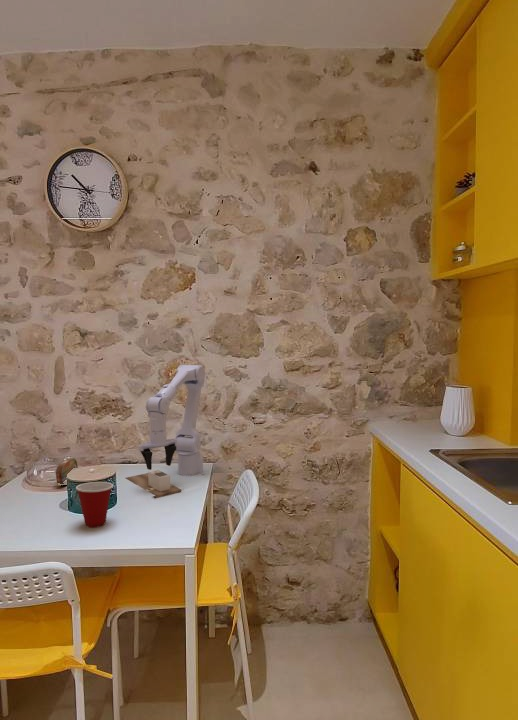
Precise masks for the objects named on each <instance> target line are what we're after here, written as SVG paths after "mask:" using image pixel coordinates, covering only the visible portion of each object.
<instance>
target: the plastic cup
mask: <svg viewBox="0 0 518 720" xmlns="http://www.w3.org/2000/svg"><path fill="white" fill-rule="evenodd" d="M112 488H114V484H113V483H111V482H106V481H91V482H85V483H81V484H79V485H76V486H75V490H76V491H77V494H78V499H79V502H80V506H81V507H80V508H81V512H82V513H81V514H82V516H83V520H84V524H85V526H86V527H87V526H88V528H98V527H97V526H99V527H102V526H104V525H105V524H106V521H107V515H108V510H109V509H108V508H109V504H110V503H109V502H110V496H111V492H112ZM104 523H105V524H104ZM103 524H104V525H103ZM101 525H102V526H101Z"/></svg>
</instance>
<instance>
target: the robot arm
mask: <svg viewBox="0 0 518 720" xmlns="http://www.w3.org/2000/svg"><path fill="white" fill-rule="evenodd" d="M175 372H176V373H175V376H174V377H173V379H172V380H171V381H170V382H169V383H167V384H164V385H163V386H162V387H161V388H160V389H159V391H158V392H156V394H155V395H154V396H151V397H149V398H148V399H147V401H146V403H145V410H146V412H147V417H148V418H149V441H148V442H145V443H141V444H138V451H139V452H140V454H141V455H142V457H143V459H144V461H145V466H146V469H147V470H149V471H150V470H151V471H152V465H153V464H152V457H153V451H151V450H152V449H157V448H164V452H165V465H166V466H169V467H170V466H171V465H172V461H173V456H174V454H175V453H176V454H177V460H178V461H177V467H178V469H177V471H178V472H177V473H178V475H179V476H182V477H183V476H184V477H187V476H188V477H189V476H194V475H197V474H199V475H201V476H202V475H203V476H204V475H205V473H204V457H203V454H202V452H201V451H200V450H201V447H202V442H201V437H202V436H201V434H200V433H199V431H198V430H196V426H197V419H198V414H199V406H200V401H201V400H200V399H201V393H202V388H203V387H204V385H205V378H206V371H205V367H204V366H203V365H201V364H198V365H196V364H195V365H193V364H180V365H179V366H178V367H177V368H176V371H175ZM182 385H183V386H185V387H186V388H187V396H186V403H185V408H184V415H183V421H182V427H181V428H180V429H179V430H177V431H176V433H175V436H174V438H170V439H169V438H168V439H167V418H166V415H167V412H168V411H169V408H170V405H171V402H172V401H173V399H174V398H175V397H176V396H177V393H178V392H177V390H178V389H180V387H181V386H182Z"/></svg>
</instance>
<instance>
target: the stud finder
mask: <svg viewBox="0 0 518 720" xmlns="http://www.w3.org/2000/svg"><path fill="white" fill-rule="evenodd" d="M147 473H148V481H149V486H151V487H153V488H155V489H156V490H158V491H164V490H169V489H170V484H171V475H170V474H168V473H165V472H163V471H162V470H160V469H155V470H151V471H150V470H149V471H148V472H147Z"/></svg>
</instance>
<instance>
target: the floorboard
mask: <svg viewBox="0 0 518 720" xmlns="http://www.w3.org/2000/svg"><path fill="white" fill-rule="evenodd" d="M125 479H126V480H127V481H129V482H131V483H133V484H135V485H136V486H138V487H140V488H141V489H143V490H145V491H147V492H148V493H150V494H152V495H154V496H152V497H153V498H154V499H160V498H163V497H168V496H172V495H175V494H179V493H182V489H181V488H179V487H177V486H176V485H174V484H172V483H170V489H169V490H164V491H158V490H156V489H155V488H153V487H151V486H149V481H148V472H147V473H141V474H137V475H132V476H127V477H125Z"/></svg>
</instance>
